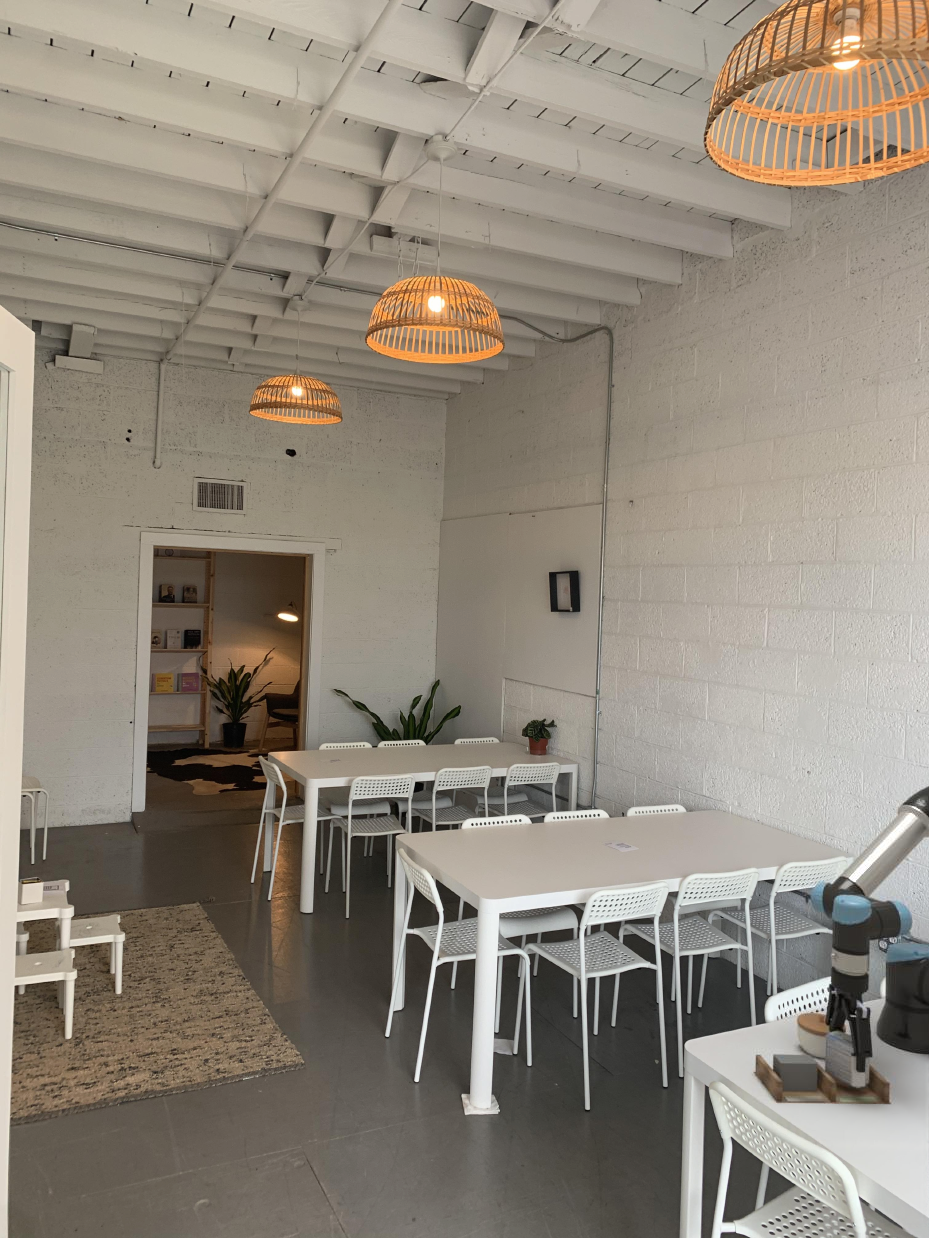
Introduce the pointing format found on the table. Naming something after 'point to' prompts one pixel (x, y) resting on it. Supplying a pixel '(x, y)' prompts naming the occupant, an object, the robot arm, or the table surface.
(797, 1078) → the rubber block
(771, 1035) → the table surface
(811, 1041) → the lidded jar
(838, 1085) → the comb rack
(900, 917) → the robot arm
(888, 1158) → the table surface
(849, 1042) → the medicine box
